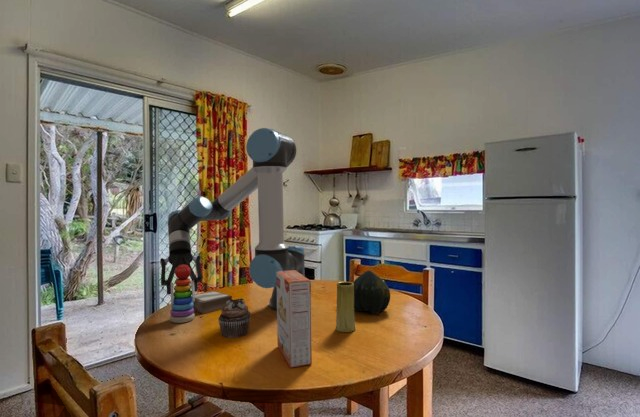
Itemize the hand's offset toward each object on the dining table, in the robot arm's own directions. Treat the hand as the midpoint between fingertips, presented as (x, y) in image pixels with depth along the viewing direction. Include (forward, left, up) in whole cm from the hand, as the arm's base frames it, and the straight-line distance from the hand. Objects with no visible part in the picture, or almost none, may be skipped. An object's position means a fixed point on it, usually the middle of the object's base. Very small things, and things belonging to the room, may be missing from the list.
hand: (183, 300), depth 118 cm
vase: (-45, -29, -8) cm, 54 cm away
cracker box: (-46, -5, -8) cm, 47 cm away
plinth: (+9, -15, -7) cm, 20 cm away
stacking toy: (+3, -1, -8) cm, 8 cm away
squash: (-40, -50, -8) cm, 65 cm away
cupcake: (-21, -5, -8) cm, 23 cm away
